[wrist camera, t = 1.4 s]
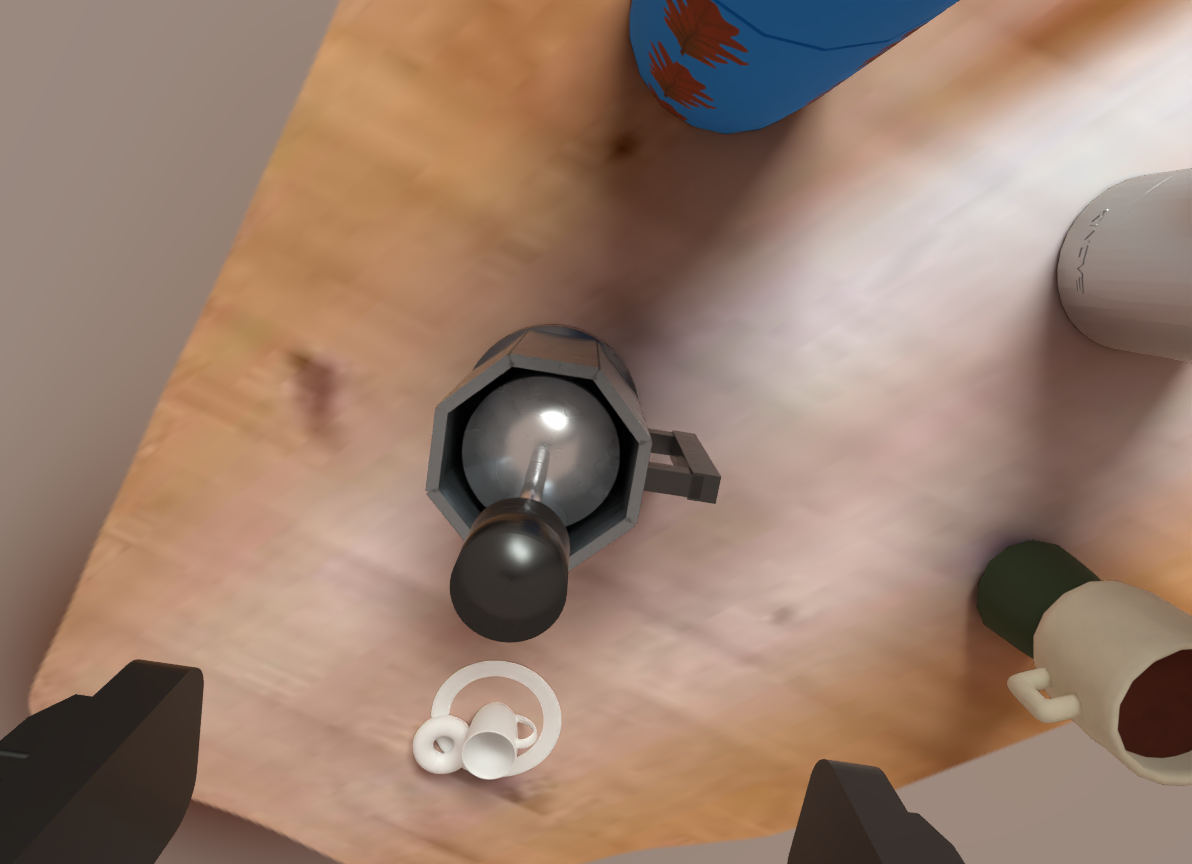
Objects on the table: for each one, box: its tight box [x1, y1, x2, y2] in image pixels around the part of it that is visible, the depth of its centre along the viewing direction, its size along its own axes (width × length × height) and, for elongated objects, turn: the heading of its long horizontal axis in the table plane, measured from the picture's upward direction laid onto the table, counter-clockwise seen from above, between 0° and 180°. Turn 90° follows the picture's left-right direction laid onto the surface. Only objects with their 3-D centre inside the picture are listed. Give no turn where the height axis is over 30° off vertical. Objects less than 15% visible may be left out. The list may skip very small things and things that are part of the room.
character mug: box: [977, 540, 1192, 786], centre depth 39 cm, size 11×7×13 cm, turn 105°
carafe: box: [426, 324, 721, 571], centre depth 37 cm, size 12×10×12 cm
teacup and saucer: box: [412, 661, 562, 779], centre depth 45 cm, size 9×8×4 cm
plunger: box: [450, 374, 620, 642], centre depth 27 cm, size 7×7×14 cm
